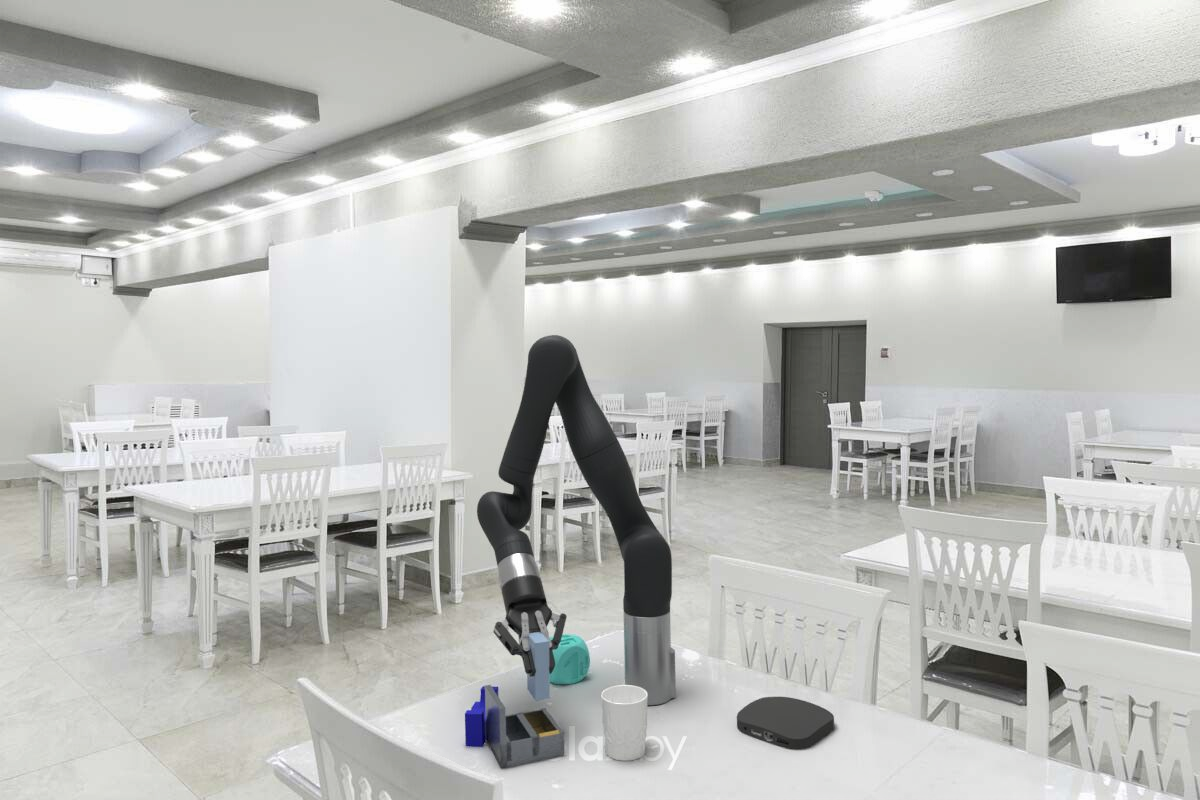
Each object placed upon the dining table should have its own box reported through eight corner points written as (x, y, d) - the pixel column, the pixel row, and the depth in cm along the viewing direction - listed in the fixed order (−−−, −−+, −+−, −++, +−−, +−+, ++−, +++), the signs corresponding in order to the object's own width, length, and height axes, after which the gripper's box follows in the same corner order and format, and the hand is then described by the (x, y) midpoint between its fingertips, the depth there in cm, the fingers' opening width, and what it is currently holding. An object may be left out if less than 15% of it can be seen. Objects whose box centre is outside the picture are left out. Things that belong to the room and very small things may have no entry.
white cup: (654, 744, 140) (652, 687, 139) (641, 766, 132) (640, 706, 132) (610, 738, 142) (609, 682, 142) (596, 759, 135) (594, 700, 134)
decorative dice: (556, 688, 165) (555, 649, 164) (539, 675, 172) (538, 638, 171) (590, 679, 169) (590, 642, 169) (572, 667, 176) (571, 631, 175)
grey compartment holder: (546, 729, 146) (544, 675, 146) (564, 755, 136) (563, 697, 136) (486, 741, 142) (484, 685, 142) (501, 768, 132) (499, 709, 132)
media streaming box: (842, 726, 146) (841, 710, 146) (801, 756, 135) (801, 739, 135) (771, 704, 156) (770, 689, 156) (728, 730, 145) (728, 714, 145)
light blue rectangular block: (541, 687, 143) (540, 631, 142) (549, 698, 138) (549, 641, 137) (527, 689, 142) (526, 633, 141) (535, 700, 137) (535, 643, 136)
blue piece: (475, 717, 152) (474, 686, 152) (499, 717, 152) (498, 686, 152) (457, 747, 141) (456, 713, 140) (482, 748, 140) (481, 714, 140)
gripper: (487, 577, 143) (505, 669, 132) (561, 569, 148) (585, 657, 138) (480, 599, 148) (498, 689, 138) (552, 590, 154) (575, 676, 143)
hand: (541, 672), depth 138 cm, fingers closed on light blue rectangular block, 2 cm apart
